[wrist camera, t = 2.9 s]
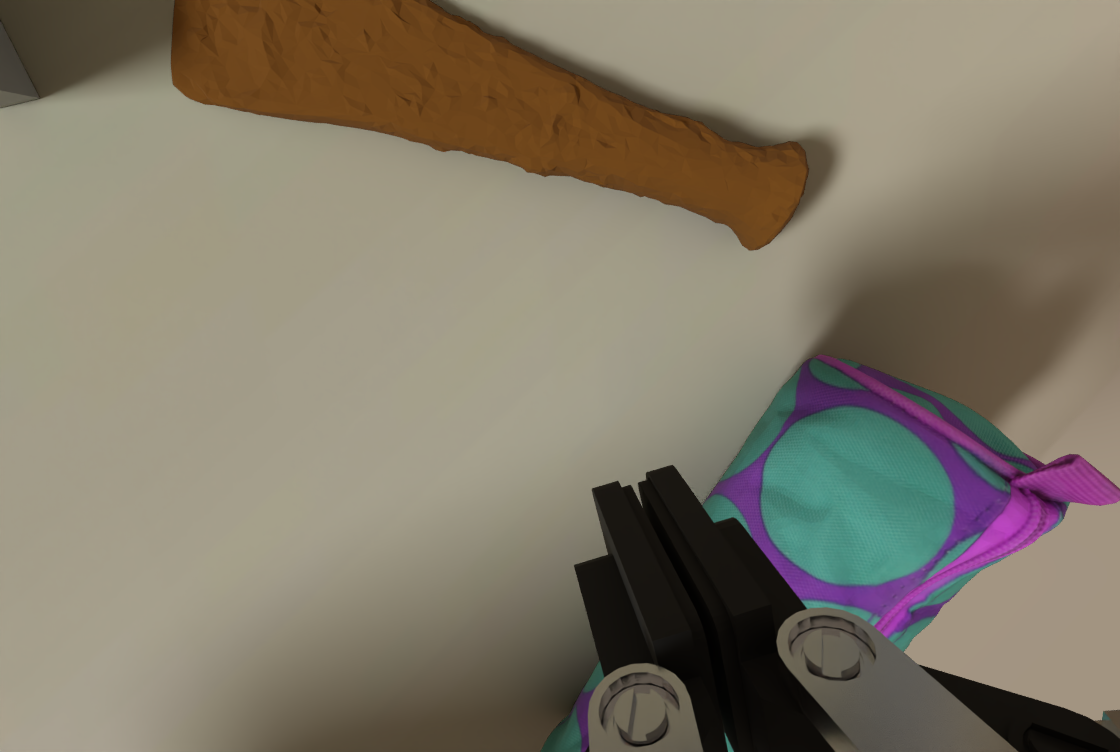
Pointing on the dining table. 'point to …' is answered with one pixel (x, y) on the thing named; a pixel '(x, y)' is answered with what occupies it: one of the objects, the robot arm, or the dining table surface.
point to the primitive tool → (472, 102)
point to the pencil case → (879, 501)
